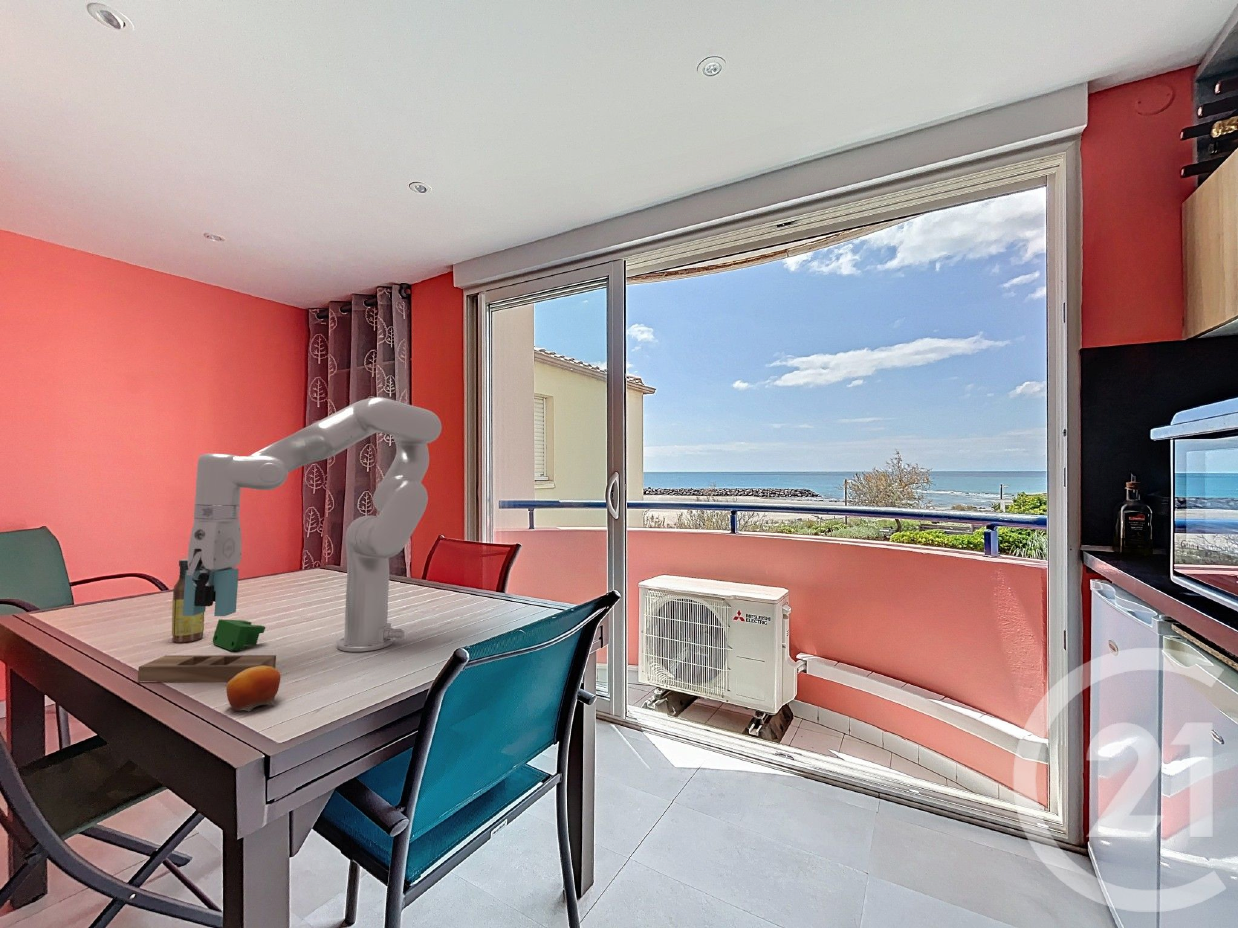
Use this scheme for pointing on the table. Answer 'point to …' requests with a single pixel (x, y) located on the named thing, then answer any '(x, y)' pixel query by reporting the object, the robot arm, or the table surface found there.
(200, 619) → the sauce bottle
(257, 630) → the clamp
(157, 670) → the slotted wooden board
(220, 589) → the clip
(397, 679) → the table surface
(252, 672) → the fruit
